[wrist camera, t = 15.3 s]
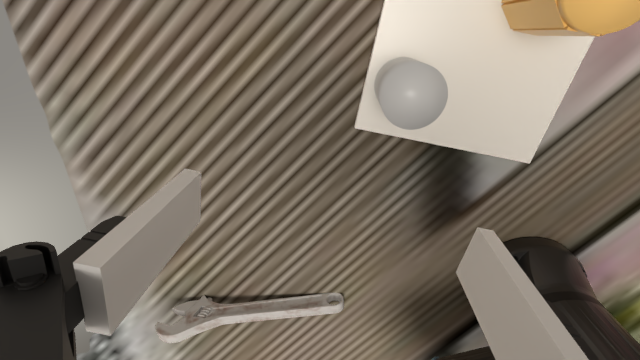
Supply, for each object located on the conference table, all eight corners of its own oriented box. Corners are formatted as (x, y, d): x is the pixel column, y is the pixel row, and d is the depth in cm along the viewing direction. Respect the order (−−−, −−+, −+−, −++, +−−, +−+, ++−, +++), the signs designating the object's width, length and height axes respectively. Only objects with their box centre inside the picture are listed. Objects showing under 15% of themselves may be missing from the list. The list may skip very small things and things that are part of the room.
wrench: (341, 287, 56) (172, 305, 56) (340, 279, 55) (169, 297, 55) (346, 325, 48) (152, 345, 48) (346, 316, 47) (148, 337, 48)
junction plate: (523, 159, 40) (571, 193, 32) (354, 124, 40) (356, 150, 31) (626, -47, 31) (734, -78, 22) (405, -93, 31) (428, -142, 22)
